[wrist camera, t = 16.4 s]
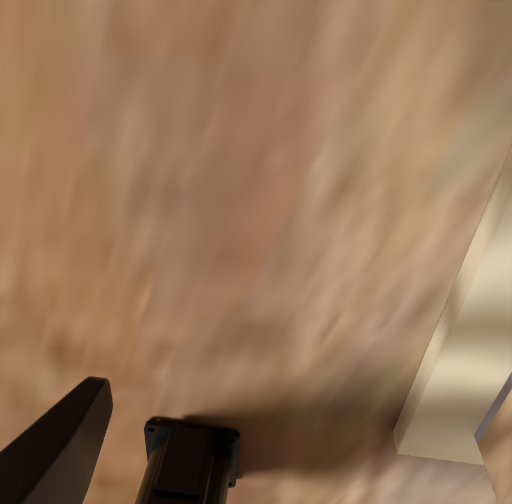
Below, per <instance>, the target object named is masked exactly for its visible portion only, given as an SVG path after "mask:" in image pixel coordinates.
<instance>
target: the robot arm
mask: <svg viewBox="0 0 512 504" xmlns="http://www.w3.org/2000/svg"><path fill="white" fill-rule="evenodd" d="M112 409H113V401H112V394H111V387H110V382H109V380H108V379H106V378H101V377H93V376H90V377H87V378H86V379H84V380H83V381H82V382H81V383H80V384H78V385H77V386H76V387H75V388H74V389H73V390H71V391H70V392H69V393H68V394H67V395H66V396H65V397H63V398H62V399H61V400H60V401H59V402H58V403H56V404H55V405H54V406H53V407H52V408H51V409H49V410H48V411H47V412H46V413H45V414H44V415H42V416H41V417H40V418H39V419H38V420H37V421H35V422H34V423H33V424H32V425H31V426H30V427H28V428H27V429H26V430H25V431H24V432H23V433H21V434H20V435H19V436H18V437H17V438H16V439H14V440H13V441H12V442H11V443H10V444H9V445H7V446H6V447H5V448H4V449H3V450H2V451H0V504H82V503H83V500H84V498H85V495H86V493H87V490H88V487H89V484H90V481H91V478H92V475H93V472H94V469H95V466H96V462H97V459H98V456H99V453H100V450H101V446H102V443H103V440H104V437H105V434H106V430H107V427H108V424H109V421H110V417H111V414H112ZM144 434H145V442H146V451H147V459H148V464H147V468H146V471H145V474H144V477H143V480H142V483H141V487H140V490H139V493H138V496H137V499H136V502H135V504H226V499H227V492H228V488H232V487H234V486H235V485H236V477H237V466H238V455H239V443H240V434H239V433H238V432H236V431H233V430H225V429H217V428H210V427H202V426H194V425H187V424H179V423H171V422H163V421H156V420H148V421H147V422H146V424H145V427H144Z"/></svg>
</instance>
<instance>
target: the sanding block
mask: <svg viewBox="0 0 512 504" xmlns="http://www.w3.org/2000/svg"><path fill="white" fill-rule="evenodd" d="M474 437H475V439H476V442H477V445H478V448H479V451H480V453H481V456H482V459H483V462H484V464H485V467H486V470H487V473H488V476H489V478H490V481H491V484H492V487H493V490H494V492H495V495H496V498H497V501H498V504H512V372H511V374H510V375H509V377H508V379H507V381H506V382H505V384H504V386H503V387H502V389H501V391H500V392H499V394H498V396H497V397H496V399H495V401H494V402H493V404H492V406H491V407H490V409H489V411H488V412H487V414H486V416H485V418H484V419H483V421H482V423H481V424H480V426H479V428H478V429H477V431H476V433H475V434H474Z"/></svg>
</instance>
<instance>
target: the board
mask: <svg viewBox="0 0 512 504" xmlns="http://www.w3.org/2000/svg"><path fill="white" fill-rule="evenodd" d="M511 372H512V146H511V149H510V151H509V154H508V156H507V158H506V161H505V163H504V166H503V168H502V170H501V173H500V175H499V178H498V180H497V182H496V185H495V187H494V190H493V192H492V194H491V197H490V199H489V202H488V204H487V206H486V209H485V211H484V214H483V216H482V218H481V221H480V223H479V226H478V228H477V230H476V233H475V235H474V238H473V240H472V242H471V245H470V247H469V250H468V252H467V255H466V257H465V259H464V262H463V264H462V267H461V269H460V271H459V274H458V276H457V279H456V281H455V283H454V286H453V288H452V291H451V293H450V295H449V298H448V300H447V303H446V305H445V307H444V310H443V312H442V315H441V317H440V319H439V322H438V324H437V327H436V329H435V331H434V334H433V336H432V339H431V341H430V343H429V346H428V348H427V351H426V353H425V355H424V358H423V360H422V363H421V365H420V367H419V370H418V372H417V375H416V377H415V380H414V382H413V384H412V387H411V389H410V392H409V394H408V396H407V399H406V401H405V404H404V406H403V408H402V411H401V413H400V416H399V418H398V420H397V423H396V425H395V428H394V430H393V437H394V442H395V447H396V453H397V454H402V455H409V456H417V457H425V458H432V459H440V460H448V461H455V462H463V463H471V464H478V465H485V464H484V462H483V459H482V456H481V453H480V451H479V448H478V445H477V442H476V439H475V437H474V434H475V433H476V431H477V429H478V428H479V426H480V424H481V423H482V421H483V419H484V418H485V416H486V414H487V412H488V411H489V409H490V407H491V406H492V404H493V402H494V401H495V399H496V397H497V396H498V394H499V392H500V391H501V389H502V387H503V386H504V384H505V382H506V381H507V379H508V377H509V375H510V374H511Z"/></svg>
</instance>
